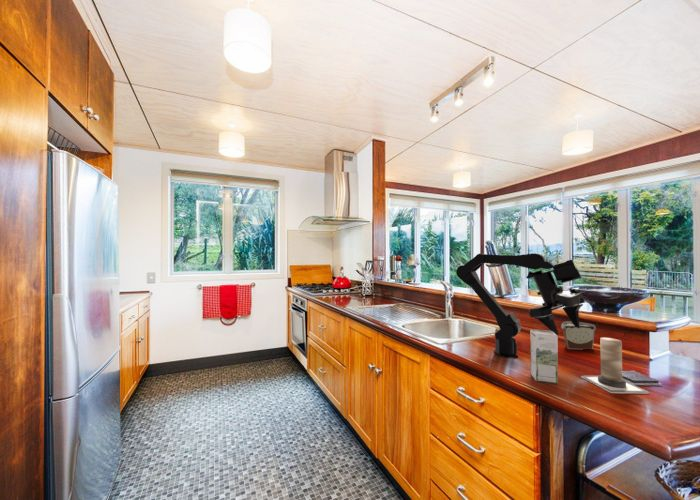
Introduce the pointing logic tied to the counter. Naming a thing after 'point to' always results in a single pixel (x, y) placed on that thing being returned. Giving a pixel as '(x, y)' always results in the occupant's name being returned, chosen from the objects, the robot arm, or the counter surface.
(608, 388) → the marked board
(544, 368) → the syrup box
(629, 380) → the ink pad
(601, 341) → the stamp
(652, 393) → the counter surface
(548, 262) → the robot arm
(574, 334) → the food container
